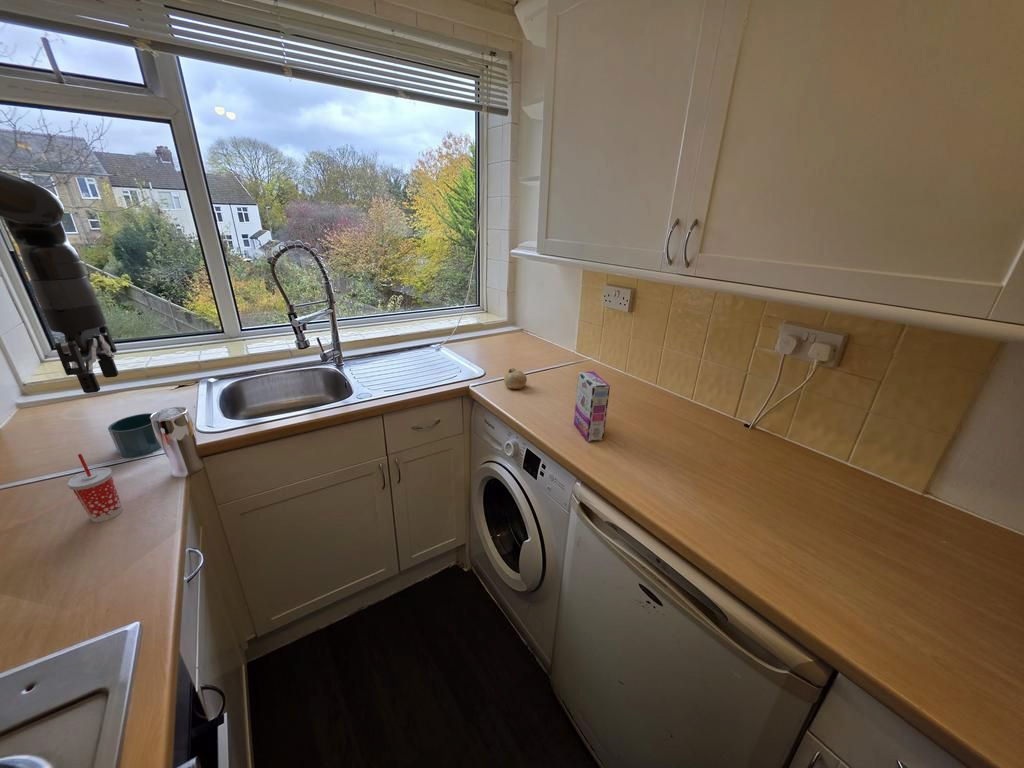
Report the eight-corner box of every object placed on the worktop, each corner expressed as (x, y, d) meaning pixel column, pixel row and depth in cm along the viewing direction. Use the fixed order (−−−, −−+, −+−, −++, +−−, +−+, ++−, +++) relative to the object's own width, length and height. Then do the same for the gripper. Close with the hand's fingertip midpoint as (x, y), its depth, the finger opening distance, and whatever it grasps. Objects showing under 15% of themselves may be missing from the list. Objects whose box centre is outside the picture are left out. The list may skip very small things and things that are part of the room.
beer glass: (173, 482, 91) (151, 423, 85) (167, 470, 95) (145, 413, 89) (210, 469, 96) (191, 412, 90) (202, 458, 100) (184, 403, 94)
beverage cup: (135, 506, 83) (110, 447, 78) (102, 527, 78) (72, 465, 72) (112, 502, 84) (85, 444, 79) (77, 522, 79) (46, 461, 74)
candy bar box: (604, 441, 110) (611, 385, 104) (587, 442, 109) (592, 386, 103) (589, 422, 120) (594, 370, 114) (573, 423, 119) (577, 371, 113)
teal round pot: (133, 466, 96) (120, 435, 93) (112, 456, 100) (99, 426, 97) (178, 447, 104) (168, 418, 101) (157, 438, 108) (147, 410, 105)
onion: (518, 381, 149) (519, 363, 146) (530, 388, 142) (531, 370, 140) (499, 385, 145) (499, 367, 142) (511, 393, 139) (511, 374, 136)
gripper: (63, 297, 79) (94, 374, 85) (17, 312, 67) (58, 401, 73) (112, 295, 82) (139, 370, 88) (77, 309, 70) (111, 394, 76)
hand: (102, 384), depth 81 cm, fingers open, 8 cm apart
